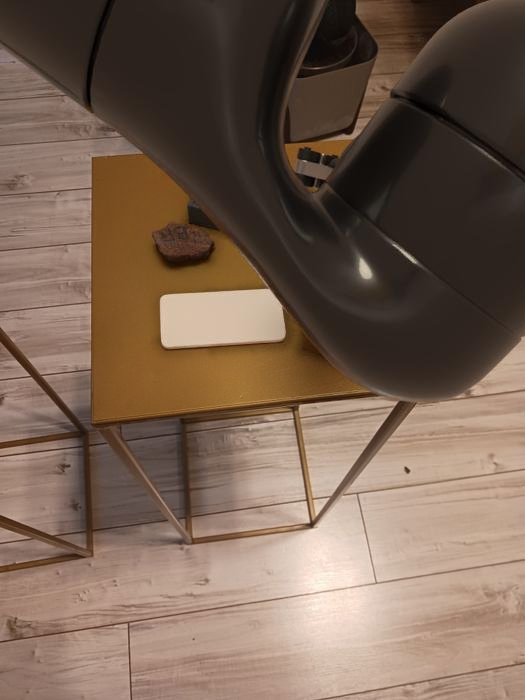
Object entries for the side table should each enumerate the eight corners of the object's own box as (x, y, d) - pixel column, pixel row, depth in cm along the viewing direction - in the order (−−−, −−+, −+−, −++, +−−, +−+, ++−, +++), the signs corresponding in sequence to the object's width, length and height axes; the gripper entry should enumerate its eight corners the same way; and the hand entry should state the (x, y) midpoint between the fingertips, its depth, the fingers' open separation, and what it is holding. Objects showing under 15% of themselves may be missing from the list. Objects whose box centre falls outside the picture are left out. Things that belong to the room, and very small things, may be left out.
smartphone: (286, 339, 65) (161, 347, 64) (286, 342, 66) (161, 350, 65) (279, 287, 68) (159, 294, 67) (278, 290, 69) (160, 297, 68)
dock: (189, 223, 73) (187, 205, 70) (205, 180, 76) (204, 161, 73) (229, 232, 73) (229, 215, 69) (244, 190, 76) (245, 171, 73)
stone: (148, 239, 71) (145, 224, 69) (198, 220, 73) (197, 205, 70) (169, 277, 69) (166, 264, 66) (220, 257, 71) (220, 243, 68)
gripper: (548, 151, 29) (473, 157, 45) (291, 91, 29) (309, 118, 46) (496, 286, 31) (443, 245, 47) (261, 228, 32) (288, 207, 48)
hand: (377, 183), depth 46 cm, fingers closed on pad, 3 cm apart
